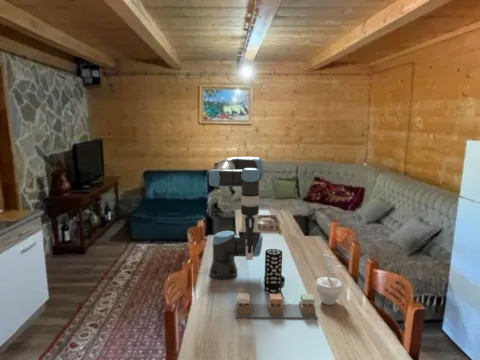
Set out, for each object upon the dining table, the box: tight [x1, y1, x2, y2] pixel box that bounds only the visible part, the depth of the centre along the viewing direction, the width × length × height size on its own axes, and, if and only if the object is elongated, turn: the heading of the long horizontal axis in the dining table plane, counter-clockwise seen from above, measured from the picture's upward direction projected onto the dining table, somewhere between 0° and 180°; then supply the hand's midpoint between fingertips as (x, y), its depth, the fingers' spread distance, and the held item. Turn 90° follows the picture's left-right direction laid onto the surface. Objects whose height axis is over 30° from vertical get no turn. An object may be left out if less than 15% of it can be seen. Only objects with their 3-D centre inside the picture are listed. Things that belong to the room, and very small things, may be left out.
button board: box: [235, 300, 319, 320], centre depth 161 cm, size 11×35×4 cm, turn 91°
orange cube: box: [269, 293, 283, 306], centre depth 161 cm, size 5×5×5 cm
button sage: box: [300, 293, 315, 306], centre depth 161 cm, size 5×5×5 cm
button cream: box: [237, 293, 251, 306], centre depth 161 cm, size 5×5×5 cm
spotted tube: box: [263, 248, 283, 295], centre depth 181 cm, size 8×8×20 cm
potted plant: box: [315, 252, 343, 306], centre depth 169 cm, size 13×12×25 cm
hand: (248, 256), depth 159 cm, fingers open, 6 cm apart
